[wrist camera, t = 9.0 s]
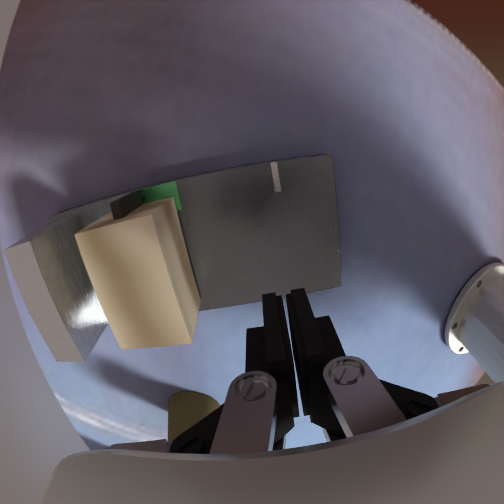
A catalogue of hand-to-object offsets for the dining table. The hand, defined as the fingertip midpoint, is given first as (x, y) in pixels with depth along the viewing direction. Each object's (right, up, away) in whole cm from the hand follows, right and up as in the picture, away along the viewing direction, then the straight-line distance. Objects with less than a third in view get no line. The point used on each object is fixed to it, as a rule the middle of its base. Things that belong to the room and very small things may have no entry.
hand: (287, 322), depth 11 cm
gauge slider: (-8, +3, +8) cm, 12 cm away
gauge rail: (-6, +3, +10) cm, 12 cm away
